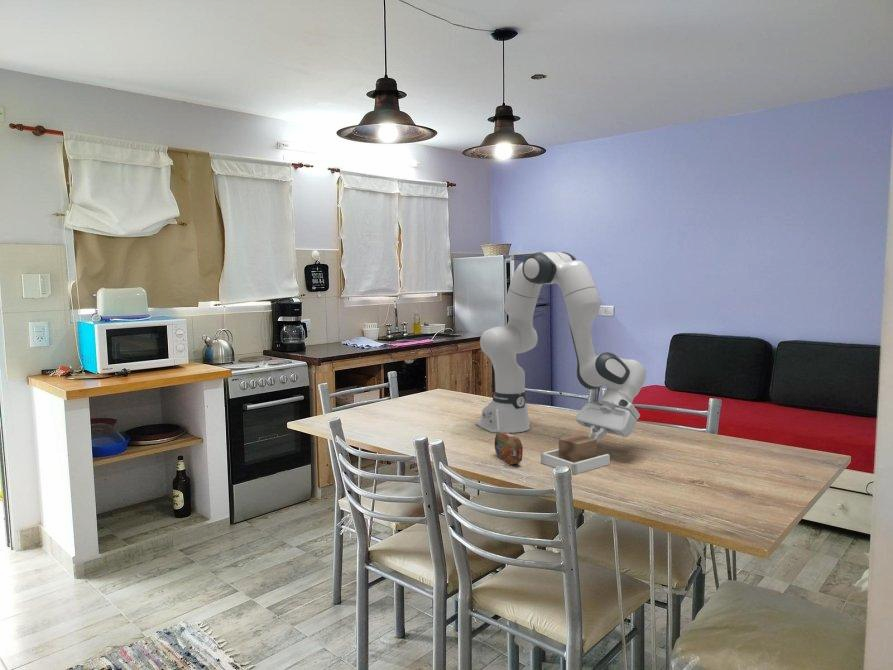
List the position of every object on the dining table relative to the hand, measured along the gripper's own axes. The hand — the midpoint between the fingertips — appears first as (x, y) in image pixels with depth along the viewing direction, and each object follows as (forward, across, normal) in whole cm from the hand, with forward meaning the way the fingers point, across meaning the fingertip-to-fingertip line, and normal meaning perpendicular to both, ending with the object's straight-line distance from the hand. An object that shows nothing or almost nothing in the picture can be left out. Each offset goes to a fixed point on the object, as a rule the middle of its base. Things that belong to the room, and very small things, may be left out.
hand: (592, 440), depth 186 cm
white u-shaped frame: (+9, 0, -1) cm, 9 cm away
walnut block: (+9, 0, -1) cm, 9 cm away
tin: (+20, -15, -11) cm, 27 cm away
